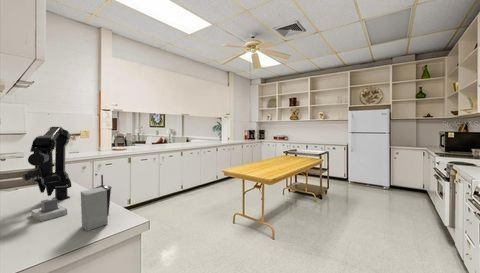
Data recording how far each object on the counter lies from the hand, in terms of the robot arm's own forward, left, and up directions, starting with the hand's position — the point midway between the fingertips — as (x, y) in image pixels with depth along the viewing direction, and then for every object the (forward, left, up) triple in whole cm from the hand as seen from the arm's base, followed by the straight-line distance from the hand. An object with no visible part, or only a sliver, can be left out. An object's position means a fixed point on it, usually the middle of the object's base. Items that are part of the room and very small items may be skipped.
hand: (45, 194), depth 106 cm
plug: (+4, 0, -9) cm, 10 cm away
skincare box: (+35, +6, -10) cm, 37 cm away
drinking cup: (+27, +13, -10) cm, 32 cm away
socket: (+4, 0, -9) cm, 10 cm away
